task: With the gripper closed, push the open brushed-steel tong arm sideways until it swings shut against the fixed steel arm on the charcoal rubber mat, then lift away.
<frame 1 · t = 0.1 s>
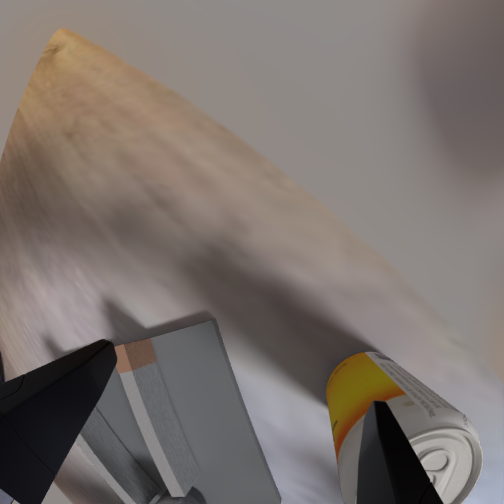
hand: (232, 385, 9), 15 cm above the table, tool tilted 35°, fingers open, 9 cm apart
charcoal mat: (162, 434, 24), on the table
beer can: (362, 385, 22), on the table
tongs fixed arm: (186, 498, 22), resting on charcoal mat
tongs hinged arm: (124, 455, 21), point 3 cm above the table, hinge at 20.0°
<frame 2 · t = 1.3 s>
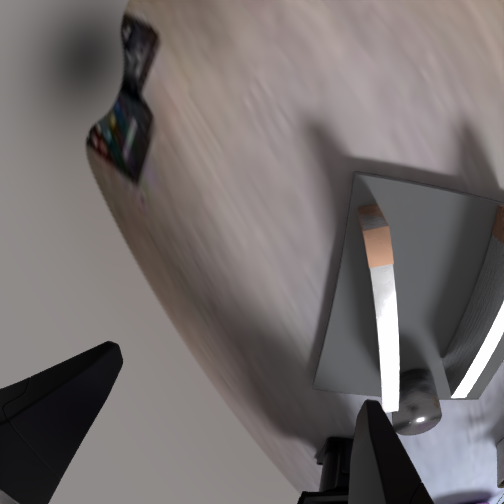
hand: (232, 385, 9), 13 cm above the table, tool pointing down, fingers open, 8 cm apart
charcoal mat: (439, 310, 20), on the table
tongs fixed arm: (411, 383, 22), resting on charcoal mat
tongs hinged arm: (412, 340, 18), point 3 cm above the table, hinge at 20.0°
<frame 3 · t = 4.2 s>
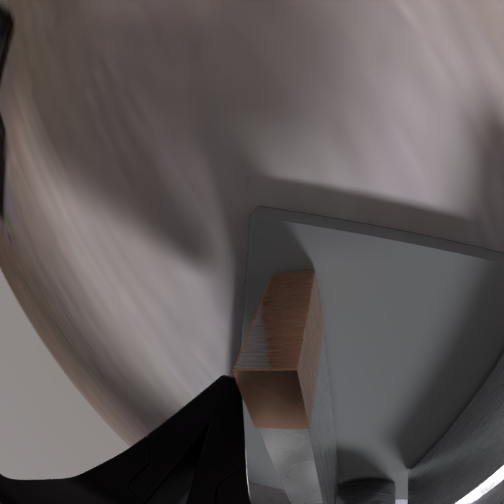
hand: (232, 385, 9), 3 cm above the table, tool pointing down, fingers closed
charcoal mat: (412, 418, 12), on the table
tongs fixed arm: (364, 488, 14), resting on charcoal mat
tongs hinged arm: (358, 475, 10), point 3 cm above the table, hinge at 17.9°, touching gripper
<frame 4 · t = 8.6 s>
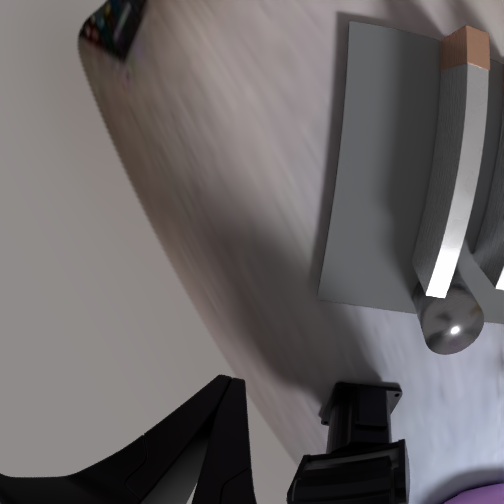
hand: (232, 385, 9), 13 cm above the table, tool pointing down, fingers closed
charcoal mat: (461, 190, 17), on the table
teapot: (470, 496, 33), on the table
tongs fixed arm: (438, 292, 19), resting on charcoal mat
tongs hinged arm: (474, 202, 14), point 3 cm above the table, hinge at 0.8°
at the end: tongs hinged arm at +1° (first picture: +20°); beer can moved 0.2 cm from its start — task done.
